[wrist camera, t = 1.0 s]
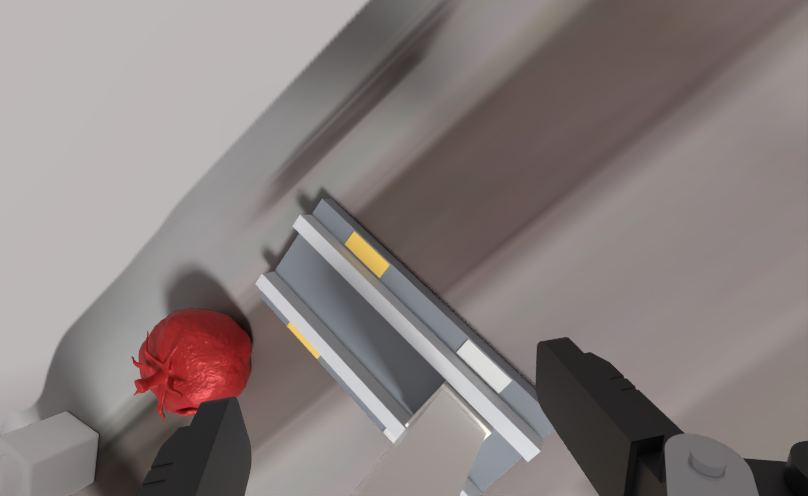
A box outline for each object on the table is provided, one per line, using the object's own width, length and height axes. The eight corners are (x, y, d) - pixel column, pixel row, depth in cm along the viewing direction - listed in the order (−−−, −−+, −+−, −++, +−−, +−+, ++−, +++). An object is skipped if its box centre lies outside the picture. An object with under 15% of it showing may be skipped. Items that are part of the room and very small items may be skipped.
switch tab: (495, 422, 28) (420, 607, 15) (455, 461, 30) (353, 662, 16) (449, 376, 30) (340, 510, 16) (412, 415, 31) (283, 568, 18)
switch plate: (561, 413, 28) (559, 434, 26) (462, 501, 32) (451, 528, 29) (332, 199, 34) (310, 197, 32) (270, 292, 38) (246, 298, 35)
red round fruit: (204, 286, 42) (107, 301, 33) (276, 329, 38) (188, 358, 30) (183, 370, 44) (86, 404, 35) (250, 418, 40) (160, 470, 31)
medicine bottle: (62, 457, 54) (-69, 518, 43) (67, 409, 53) (-68, 460, 42) (95, 482, 52) (-36, 554, 41) (100, 433, 50) (-33, 493, 39)
